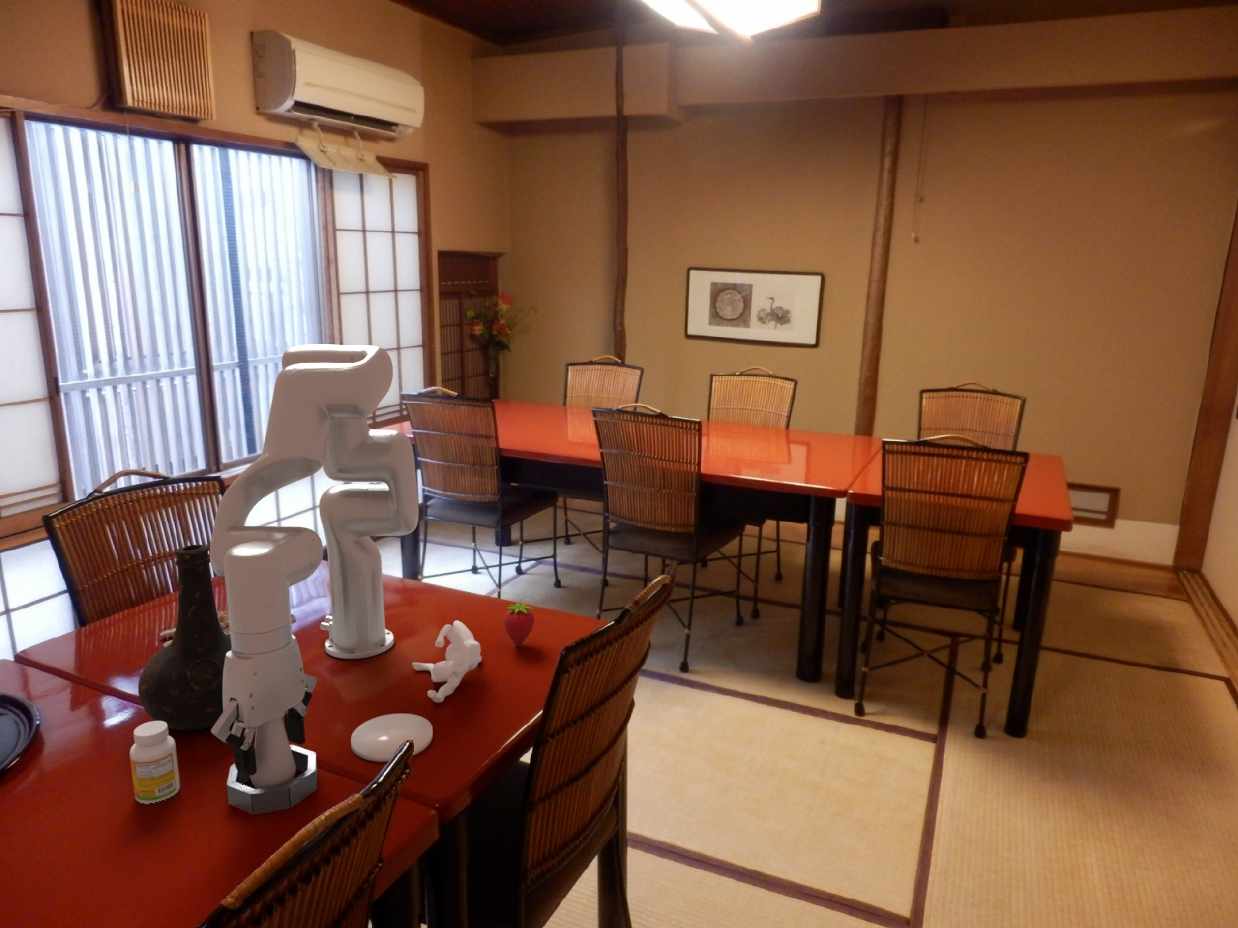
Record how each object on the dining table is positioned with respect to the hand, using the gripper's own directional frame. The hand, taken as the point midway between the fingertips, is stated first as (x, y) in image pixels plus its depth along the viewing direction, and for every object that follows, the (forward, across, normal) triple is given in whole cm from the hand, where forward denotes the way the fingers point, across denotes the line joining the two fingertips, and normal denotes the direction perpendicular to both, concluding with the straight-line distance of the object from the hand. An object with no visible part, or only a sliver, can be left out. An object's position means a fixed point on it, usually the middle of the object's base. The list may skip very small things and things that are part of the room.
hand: (271, 755), depth 113 cm
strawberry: (+5, -54, +5) cm, 54 cm away
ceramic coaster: (+5, -17, +6) cm, 19 cm away
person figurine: (+5, -36, +3) cm, 37 cm away
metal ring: (+5, 0, 0) cm, 5 cm away
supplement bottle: (+5, +8, -13) cm, 16 cm away
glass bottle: (+5, -9, -25) cm, 27 cm away
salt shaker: (+5, 0, 0) cm, 5 cm away
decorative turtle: (+5, -30, -51) cm, 59 cm away
